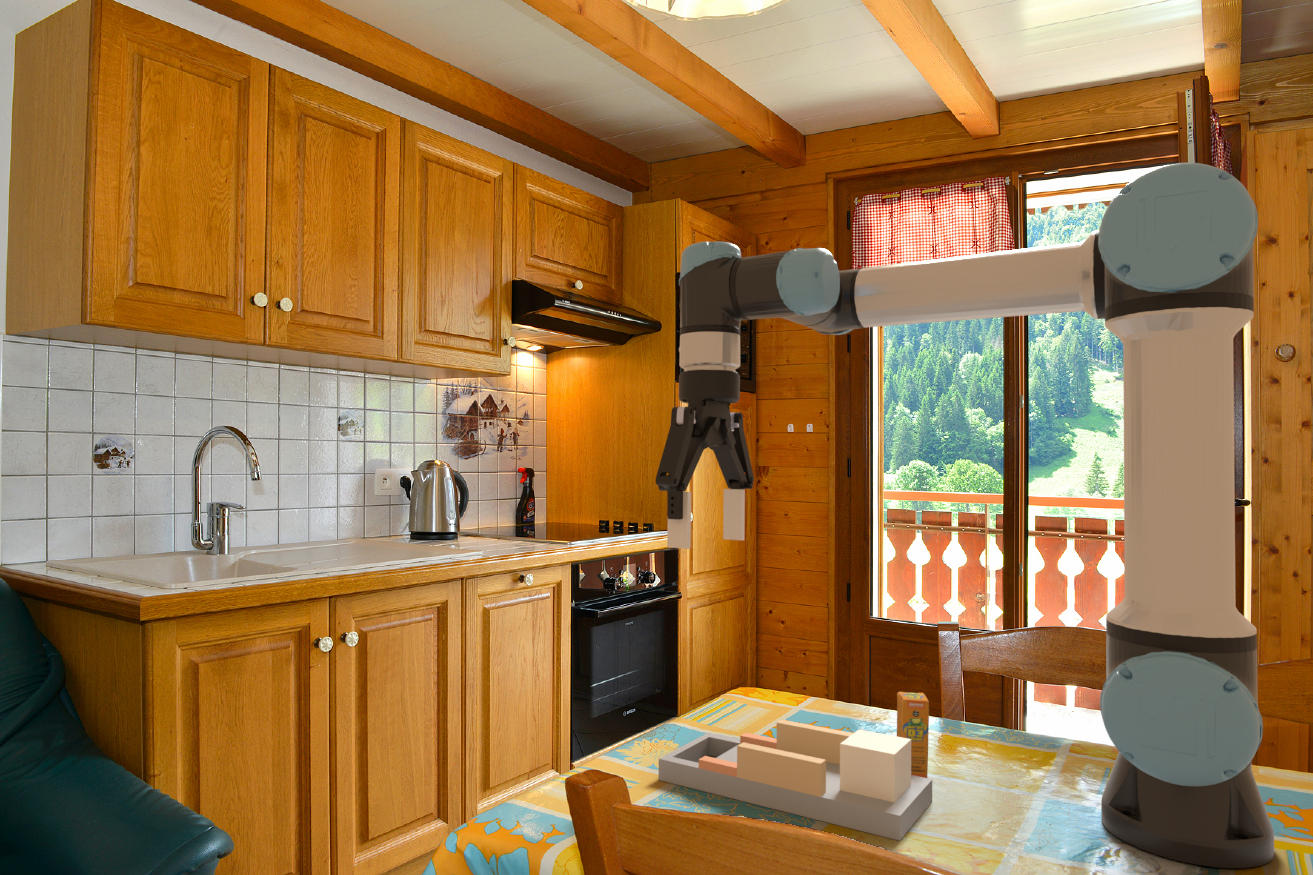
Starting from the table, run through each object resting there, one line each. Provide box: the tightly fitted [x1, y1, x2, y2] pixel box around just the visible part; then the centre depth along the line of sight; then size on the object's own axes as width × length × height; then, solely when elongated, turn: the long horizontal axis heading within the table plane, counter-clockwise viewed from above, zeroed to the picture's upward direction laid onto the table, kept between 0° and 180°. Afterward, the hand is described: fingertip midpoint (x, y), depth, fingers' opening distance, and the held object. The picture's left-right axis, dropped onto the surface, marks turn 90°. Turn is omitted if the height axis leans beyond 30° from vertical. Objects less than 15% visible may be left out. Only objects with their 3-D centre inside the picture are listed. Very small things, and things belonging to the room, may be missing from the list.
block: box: [840, 729, 911, 803], centre depth 93 cm, size 6×6×5 cm
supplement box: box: [896, 691, 930, 778], centre depth 103 cm, size 3×3×10 cm
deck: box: [658, 719, 933, 842], centre depth 99 cm, size 29×12×6 cm, turn 57°
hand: (707, 543), depth 104 cm, fingers open, 13 cm apart
